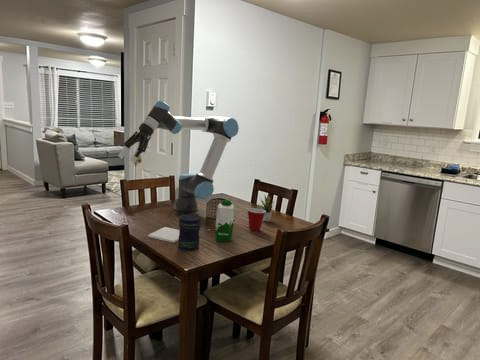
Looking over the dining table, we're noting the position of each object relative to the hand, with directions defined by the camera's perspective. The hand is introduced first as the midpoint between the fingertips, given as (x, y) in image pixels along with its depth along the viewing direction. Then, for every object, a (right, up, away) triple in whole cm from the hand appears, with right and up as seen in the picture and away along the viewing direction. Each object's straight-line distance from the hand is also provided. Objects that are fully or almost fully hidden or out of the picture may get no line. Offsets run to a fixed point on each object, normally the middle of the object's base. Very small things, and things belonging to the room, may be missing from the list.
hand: (125, 159), depth 181 cm
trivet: (+23, -39, -2) cm, 45 cm away
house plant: (+74, -36, +37) cm, 90 cm away
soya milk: (+51, -41, -2) cm, 65 cm away
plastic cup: (+68, -39, +18) cm, 80 cm away
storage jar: (+35, -43, -15) cm, 57 cm away
